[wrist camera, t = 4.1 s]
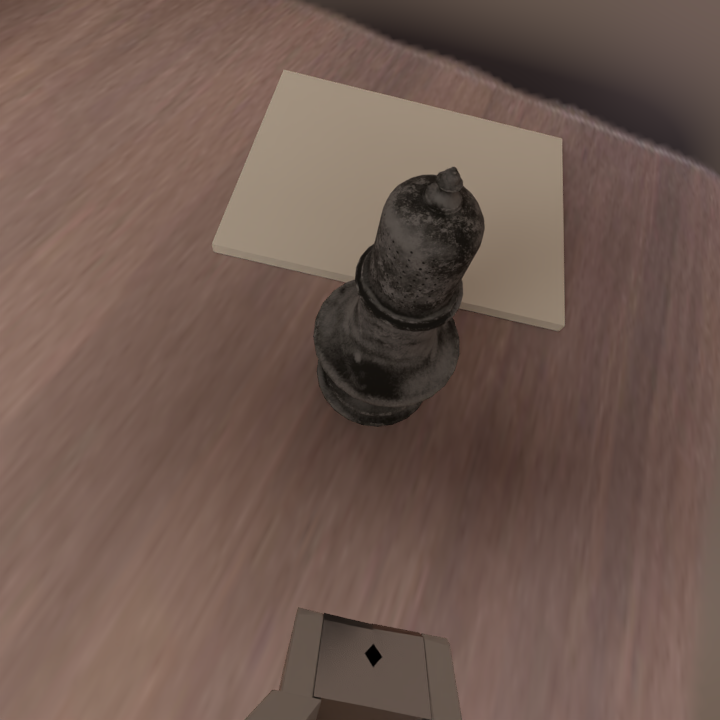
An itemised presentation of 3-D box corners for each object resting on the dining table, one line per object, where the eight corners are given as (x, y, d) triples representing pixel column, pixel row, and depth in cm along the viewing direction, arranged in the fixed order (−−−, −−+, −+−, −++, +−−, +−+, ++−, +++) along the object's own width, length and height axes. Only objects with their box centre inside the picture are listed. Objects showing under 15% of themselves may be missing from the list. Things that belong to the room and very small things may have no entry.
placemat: (213, 251, 23) (211, 244, 23) (284, 78, 29) (283, 69, 29) (558, 331, 24) (565, 325, 23) (557, 146, 30) (562, 138, 29)
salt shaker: (409, 306, 23) (510, 75, 13) (454, 413, 21) (620, 246, 10) (296, 331, 22) (299, 94, 11) (331, 448, 20) (377, 297, 9)
